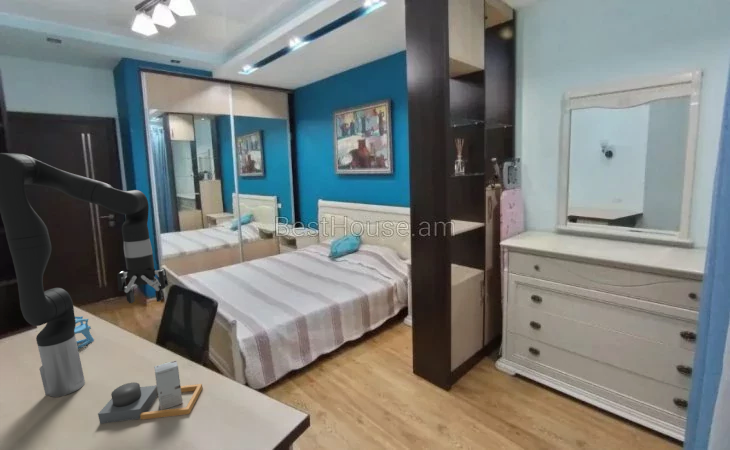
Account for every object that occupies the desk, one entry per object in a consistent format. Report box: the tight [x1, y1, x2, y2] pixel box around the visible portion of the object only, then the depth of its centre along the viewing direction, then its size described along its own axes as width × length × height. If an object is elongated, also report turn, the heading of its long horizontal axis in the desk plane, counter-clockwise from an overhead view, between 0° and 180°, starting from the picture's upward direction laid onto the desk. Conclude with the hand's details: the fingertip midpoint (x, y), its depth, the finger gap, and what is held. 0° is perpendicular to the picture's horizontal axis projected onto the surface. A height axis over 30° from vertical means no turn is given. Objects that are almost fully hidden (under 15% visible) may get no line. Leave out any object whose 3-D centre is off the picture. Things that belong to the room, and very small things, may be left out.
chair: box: [74, 315, 95, 350], centre depth 147 cm, size 8×8×12 cm
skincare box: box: [153, 360, 183, 410], centre depth 108 cm, size 6×4×12 cm
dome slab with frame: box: [97, 382, 203, 424], centre depth 108 cm, size 24×12×6 cm, turn 97°
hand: (145, 301), depth 119 cm, fingers open, 8 cm apart
